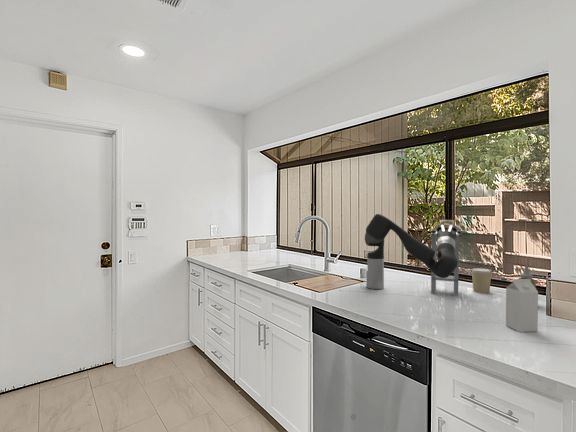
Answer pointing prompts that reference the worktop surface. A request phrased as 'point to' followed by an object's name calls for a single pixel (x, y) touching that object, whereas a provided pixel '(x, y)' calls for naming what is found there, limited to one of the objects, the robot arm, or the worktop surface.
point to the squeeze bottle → (527, 276)
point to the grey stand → (455, 277)
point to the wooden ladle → (447, 223)
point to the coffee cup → (481, 280)
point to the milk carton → (522, 306)
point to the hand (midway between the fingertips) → (446, 222)
